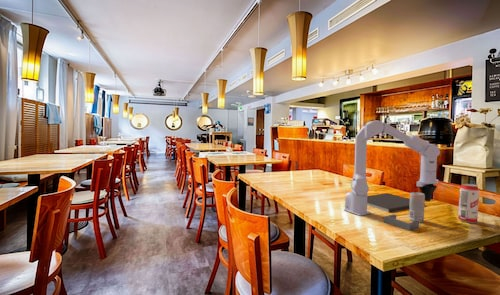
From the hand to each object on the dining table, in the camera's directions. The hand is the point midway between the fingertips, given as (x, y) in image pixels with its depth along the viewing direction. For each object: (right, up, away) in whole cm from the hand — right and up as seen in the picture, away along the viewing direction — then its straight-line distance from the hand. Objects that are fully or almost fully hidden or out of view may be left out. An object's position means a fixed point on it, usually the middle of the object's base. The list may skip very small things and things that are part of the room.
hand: (426, 200), depth 110 cm
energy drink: (-7, -8, -3) cm, 11 cm away
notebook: (-5, -7, +23) cm, 25 cm away
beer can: (+15, -8, -4) cm, 17 cm away
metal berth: (-17, -8, -9) cm, 21 cm away
